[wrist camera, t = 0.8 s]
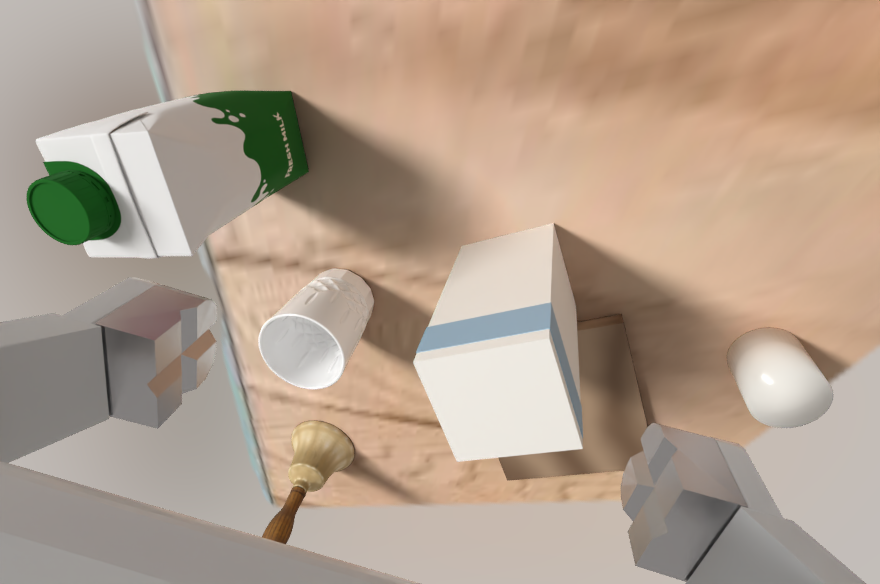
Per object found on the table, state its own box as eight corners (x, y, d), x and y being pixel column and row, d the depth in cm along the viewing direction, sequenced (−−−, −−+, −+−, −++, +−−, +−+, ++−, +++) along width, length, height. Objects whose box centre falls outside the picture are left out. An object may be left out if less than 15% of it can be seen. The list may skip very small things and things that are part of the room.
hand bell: (334, 414, 61) (269, 532, 47) (366, 464, 64) (313, 587, 51) (280, 426, 64) (204, 540, 50) (313, 473, 67) (249, 592, 54)
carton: (553, 222, 44) (549, 337, 29) (576, 306, 48) (583, 449, 32) (460, 245, 47) (412, 361, 32) (488, 323, 51) (456, 462, 35)
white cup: (372, 338, 54) (337, 401, 46) (303, 315, 55) (255, 372, 46) (386, 276, 50) (351, 332, 42) (311, 251, 51) (261, 301, 42)
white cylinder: (800, 322, 44) (832, 364, 39) (803, 376, 46) (833, 423, 41) (723, 334, 46) (744, 376, 41) (729, 386, 48) (750, 431, 43)
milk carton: (206, 87, 45) (-14, 137, 28) (300, 78, 43) (126, 126, 26) (234, 185, 49) (58, 281, 32) (322, 181, 47) (184, 282, 30)
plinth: (621, 314, 47) (623, 322, 46) (654, 456, 54) (656, 467, 53) (459, 344, 52) (456, 352, 51) (508, 470, 60) (507, 480, 58)
